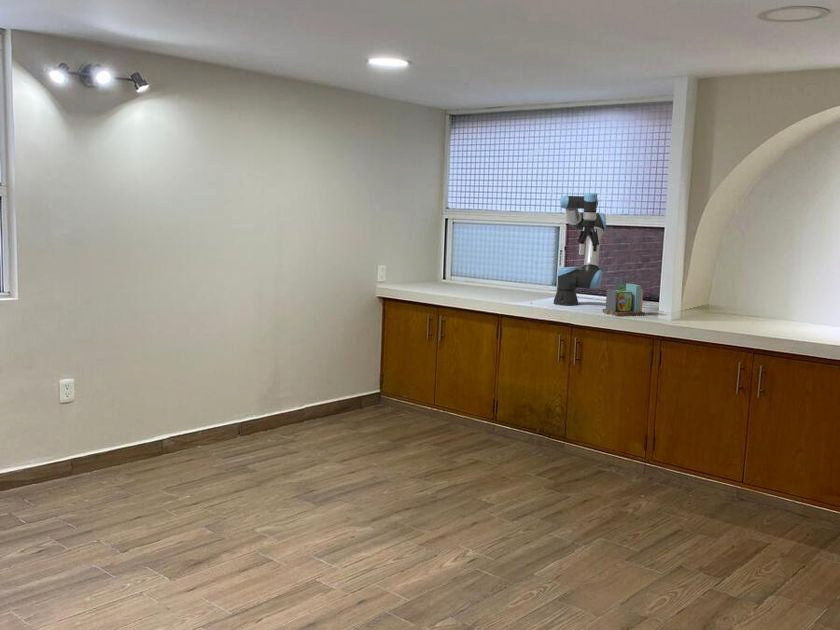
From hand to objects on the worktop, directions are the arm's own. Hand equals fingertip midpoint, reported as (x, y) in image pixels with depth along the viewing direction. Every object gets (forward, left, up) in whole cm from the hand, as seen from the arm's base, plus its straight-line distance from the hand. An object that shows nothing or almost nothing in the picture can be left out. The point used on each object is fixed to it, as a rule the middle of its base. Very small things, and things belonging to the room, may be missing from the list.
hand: (587, 255), depth 475 cm
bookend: (+19, +6, -30) cm, 36 cm away
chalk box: (+19, +13, -30) cm, 38 cm away
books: (+19, +21, -30) cm, 41 cm away
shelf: (+19, +15, -32) cm, 40 cm away
